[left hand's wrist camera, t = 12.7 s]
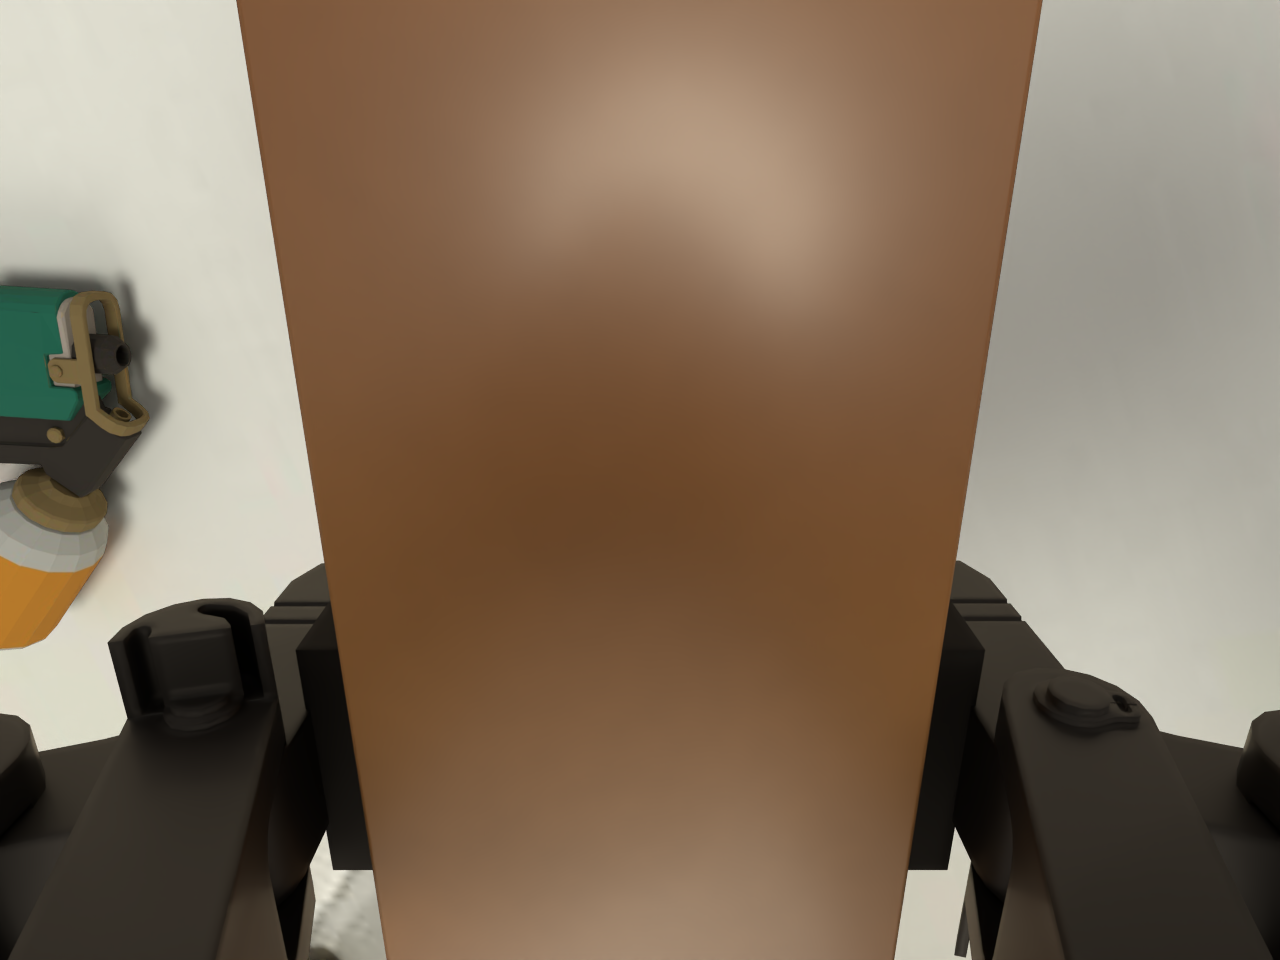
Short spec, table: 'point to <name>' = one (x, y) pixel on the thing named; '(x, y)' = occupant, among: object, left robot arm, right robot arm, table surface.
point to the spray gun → (56, 449)
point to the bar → (639, 443)
